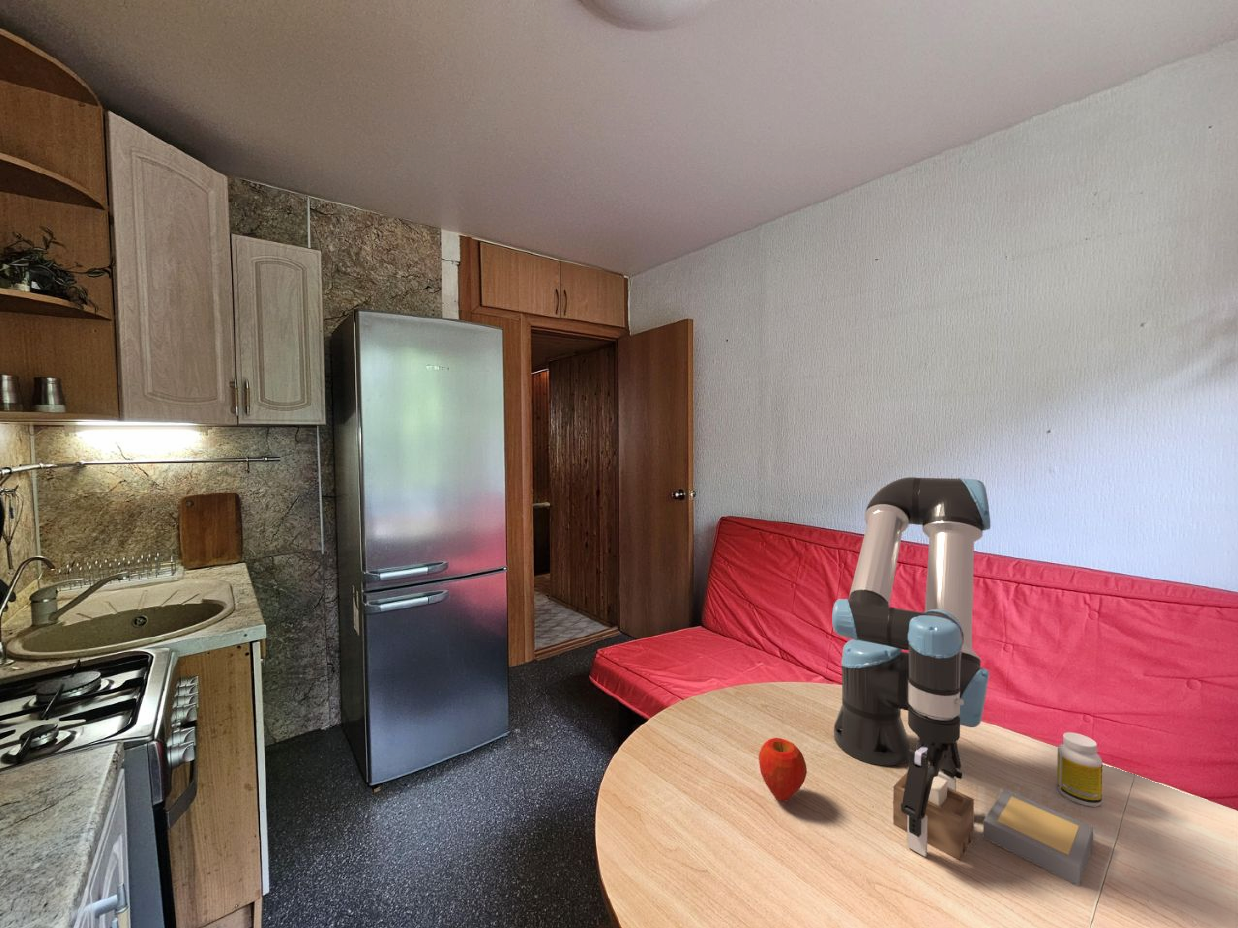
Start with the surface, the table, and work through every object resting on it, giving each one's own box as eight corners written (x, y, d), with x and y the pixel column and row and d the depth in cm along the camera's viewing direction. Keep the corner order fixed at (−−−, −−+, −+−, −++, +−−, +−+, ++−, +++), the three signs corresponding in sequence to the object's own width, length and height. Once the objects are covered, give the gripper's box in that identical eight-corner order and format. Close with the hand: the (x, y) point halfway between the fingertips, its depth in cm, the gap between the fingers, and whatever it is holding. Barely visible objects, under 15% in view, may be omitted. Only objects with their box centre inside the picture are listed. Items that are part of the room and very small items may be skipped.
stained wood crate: (893, 824, 86) (893, 786, 86) (909, 805, 91) (909, 769, 91) (959, 861, 79) (959, 819, 78) (973, 838, 83) (973, 798, 83)
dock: (983, 837, 83) (983, 819, 83) (1003, 804, 91) (1003, 788, 91) (1079, 886, 74) (1079, 866, 74) (1092, 844, 81) (1093, 826, 81)
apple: (813, 796, 94) (813, 741, 93) (794, 821, 87) (794, 762, 87) (771, 776, 99) (770, 724, 99) (750, 798, 93) (750, 743, 93)
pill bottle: (1111, 810, 89) (1112, 750, 89) (1071, 805, 90) (1072, 747, 90) (1086, 786, 95) (1087, 731, 95) (1049, 782, 96) (1050, 728, 96)
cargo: (912, 795, 85) (912, 778, 85) (921, 785, 88) (921, 768, 88) (938, 808, 82) (938, 790, 82) (947, 797, 85) (947, 780, 85)
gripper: (930, 748, 73) (929, 885, 74) (982, 694, 89) (981, 807, 90) (878, 726, 79) (878, 854, 80) (935, 679, 95) (934, 786, 95)
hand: (932, 829), depth 85 cm, fingers open, 13 cm apart
